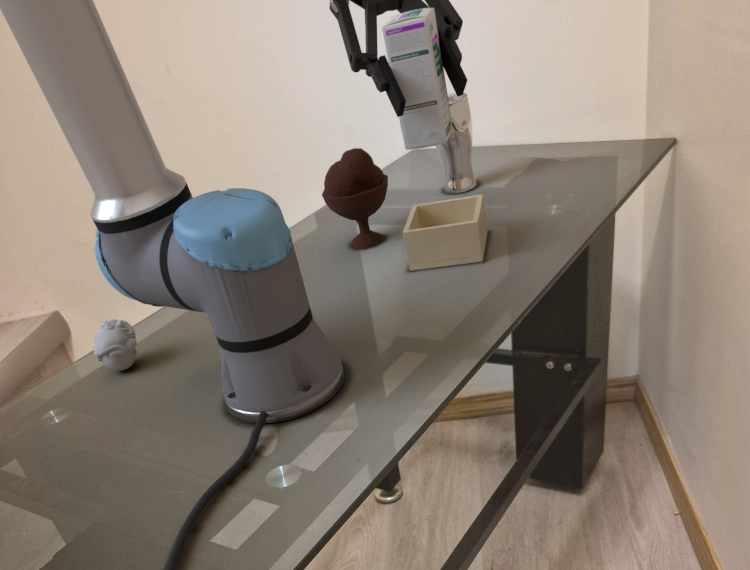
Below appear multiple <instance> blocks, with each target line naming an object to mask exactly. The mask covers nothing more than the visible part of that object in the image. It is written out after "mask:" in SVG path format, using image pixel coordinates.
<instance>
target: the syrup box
mask: <svg viewBox="0 0 750 570" xmlns="http://www.w3.org/2000/svg"><path fill="white" fill-rule="evenodd" d="M381 30H382V36H383V41H384V45H385V51H386V58H387V61H388V63H389V66H390V68H391V70H392V72H393V74H394V76H395V78H396V80H397V83H398V85H399V87H400V89H401V91H402V93H403V95H404V97H405V100H406V103H405V108H404V113H403V115H402V116H399V117H398V120H399V124H400V130H401V135H402V140H403V145H404V149H405V150H406V151H409V150H418V149H419V150H420V149H424V148H425V149H426V148H430V147H436V145H441V144H446V143H447V140H448V138H449V136H450V134H451V132H452V129H453V128H452V121H451V115H450V108H449V102H448V95H447V94H448V89H447V83H446V75H445V69H444V67H443V62H442V56H441V49H440V43H439V36H438V30H437V23H436V17H435V11H434V8H433V7H428V8H421V9H415V10H411V11H407V12H404V13H398V14H395V15H391V16H390V18H389V20H388V21H387V22H386V23H385V24H384V25H382V27H381Z"/></svg>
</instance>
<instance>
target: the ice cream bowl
mask: <svg viewBox="0 0 750 570" xmlns="http://www.w3.org/2000/svg"><path fill="white" fill-rule="evenodd" d="M324 177H325V178H324V182H323V185H324V186H323V187H324V189H323V191H322V193H321V196H322V199H323V201H324V203H325V204H326V206H327V207H328V208H329V210H330V211H331V212H333V213H334V214H336V215H338V216H340V217H342V218H344V219H347V220H350V221H356V223H357V224H358V225H357V226H358V231H359V233H358V234H356V236H355V237H354V238H353V239H352V241H351V248H354V249H356V250H359V249H361V250H362V249H363V250H364V249H368V248H371V247H375V246H377V245H379V244H380V243H382V242H383V239H384V236H383V234H381V233H379V232H377V231H373V230H371V227H370V223H369V218H370V217H371V216H372V215H374V214H376V213H377V211H379V210H380V208H381V207H382V205H383V204H384V202H385V200H386V196H387V192H388V187H389V175H387V174H384V171H382V169H381V167H379V166H378V165H376V164H375V163H374V160H373V158H372V156H371V155H370V153H368V152H367V151H366V150H364V149H363V148H361V147H360V148H358V147H357V148H356V147H353V148H351V149H347V150H345V151H344V152H343V153H342V155H341V157H340V160H337V161H335V162H334V163H333V164H332V165H330V167H329V168H328V170H327V172H326V174H325V176H324Z"/></svg>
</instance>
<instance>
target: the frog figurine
mask: <svg viewBox="0 0 750 570" xmlns="http://www.w3.org/2000/svg"><path fill="white" fill-rule="evenodd" d="M93 342H94V343H93V355H94V356H95V357H96V359H97V361H98V362H99V363H102V364H103V365H104V366H105V367H107V368H108V369H109V370H112V371H116V372H122V371H125V370H127V369H129V368H130V367H132V366H133V364H135V361H136V358H137V353H138V351H137V348H136V346H137V344H138V343H137V336H136V331H135V329H134V327H133V326H132V325H131V323H129V322H128V321H126V320H124V319H123V320H121V319H119V320H118V319H116V318H115V319H108V320H103V321H102V322H100V326H99V329H98V331H97V333H96V334H95V337H94V341H93Z"/></svg>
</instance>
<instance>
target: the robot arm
mask: <svg viewBox="0 0 750 570" xmlns="http://www.w3.org/2000/svg"><path fill="white" fill-rule="evenodd" d="M350 2H352V3H353V4H354V5H356V6H358V7H360V8H361V9H363V10H364V26H365V29H364V31H365V33H364V34H365V52H362V48H361V44H360V42H359V38H358V33H357V31H356V27H355V23H354V21H353V17H352V13H351V9H350ZM428 7H433V8H434V11H435V17H436V23H437V30H438V36H439V43H440V49H441V56H442V62H443V69H444V72H445V74H446V75H447V78H448V80H449V82H450V84H451V86H452V89H453V90H454V93H456V95H457V97H458V96H461V95H463V93H465V89H466V86H467V83H468V78H467V76H466V74H465V72H464V70H463V67H462V66H461V63H462V60H463V54H462V51H461V49H460V48H459V45H458V44H457V41H458V40H459V38H460V35H461V31H462V27H463V23H464V22H463V19H462V17H461V16H460V14H459V13H458V11H457V10H456V8H455V7H454V5H453V3H451V1H450V0H424V1H423V0H329V11H330V12H331V13H332V15H333V16H334V17H335V19H336V20H337V24H338V27H339V30H340V34H341V37H342V41H343V45H344V48H345V49H344V50H345V52H346V56H347V59H348V62H349V65H350V69H351V71H352V72H353V73H358V72H359V73H360V71H365V75H366V76H367V77H369V78H371V79H372V81H373V83H374V85H375V87H376V90H377V91H378V92H379V93H384V92H385V93H386V95H387V98H388V100H389V102H390V104H391V106H392V108H393V111H394V113H395V115H396V117H397V118H399V116H402V115H403V113H404V108H405V103H406V100H405V97H404V95H403V93H402V91H401V89H400V87H399V85H398V83H397V80H396V78H395V76H394V74H393V72H392V70H391V68H390V66H389V62H388V58H387V56H386V55H385V54H384V55H380V56H379V57H378V54H379V53H378V16H380V15H383V14H385V13H387V12H393V11H397V12H398V13H399V14H401V13H404V12H407V11H411V10H415V9H421V8H428ZM0 11H1V13H2V15H3V17H4V19H5V21H6V23H7V26H8V28H9V29H10V31H11V33H12V35H13V37H14V39H15V41H16V42H17V45H18V46H19V49H20V51H21V53H22V55H23V56H24V58H25V60H26V63H27V65H28V66H29V68H30V70H31V72H32V74H33V76H34V78H35V80H36V82H37V84H38V86H39V88H40V90H41V92H42V94H43V96H44V98H45V99H46V102H47V104H48V105H49V107H50V109H51V112H52V113H53V115H54V117H55V119H56V121H57V123H58V125H59V127H60V129H61V131H62V133H63V135H64V137H65V139H66V141H67V143H68V145H69V146H70V149H71V151H72V152H73V155H74V156H75V159H76V160H77V163H78V164H79V166H80V169H81V170H82V172H83V174H84V177H85V178H86V180H87V183H88V184H89V186H90V188H91V190H92V192H93V193H94V200H93V203H92V206H91V209H90V217H91V219H92V221H93V223H94V225H95V227H96V230H95V234H94V236H95V237H96V242H95V244H94V254H95V259H96V261H97V265H98V267H99V269H100V271H101V273H102V275H103V277H104V278H105V280H106V281H107V282H108V284H110V286H111V287H113V289H115V290H116V291H117V292H118V293H120V294H121V295H123V296H124V297H125V298H129V299H130V300H134V301H137V302H139V303H141V304H144V305H149V306H152V307H159V308H160V307H161V308H162V307H164V308H165V307H166V308H167V307H168V308H172V309H179V310H186V311H192V312H199V313H203V314H206V315H207V319H208V321H209V323H210V325H211V328H212V331H213V333H214V335H215V338H216V340H217V343H218V346H219V349H220V363H221V364H220V365H221V389H222V396H223V399H224V402H225V404H226V407H227V410H228V411H229V413H230V414H231V416H233V417H235V418H236V419H238V420H240V421H243V422H246V423H252V424H254V426H253V429H252V431H251V434H250V436H249V439H248V443H247V445H246V448H245V450H244V451H243V452H242V453H241V455H240V456H239V458H238V459H237V460H236V461H235V462H234V463H233V464H232V465H231V466H230V467H229V468H228V469H227V470H226V471H225V472H224V473H223V474H222V475H221V476H219V478H217V479H216V480H215V481H214V482H213V483H212V484H211V485H210V486H209V487H208V488H207V490H206V491H204V493H202V495H201V497H200V498H199V499H198V501H197V502H196V503H195V505H194V506H193V507H192V509H191V511H190V512H189V514H188V515H187V517H186V518H185V520H184V522H183V524H182V526H181V528H180V530H179V532H178V534H177V536H176V537H175V540H174V542H173V544H172V547H171V550H170V552H169V554H168V557H167V560H166V562H165V566H164V568H163V570H176V567H177V564H178V561H179V559H180V555H181V553H182V550H183V548H184V546H185V544H186V541H187V539H188V537H189V535H190V532H191V530H192V529H193V527H194V525H195V523H196V521H197V520H198V518H199V517H200V515H202V514H201V513H203V511H204V510H205V508H206V506H207V505H208V504H209V502H210V501H211V500H212V499H213V498H214V496H216V495H217V493H218V492H219V491H221V489H222V488H223V487H225V486H226V485H227V484H228V483H229V482H230V481H231V480H232V479H233V478H234V477H235V476H236V475H237V474H238V473H239V472H240V471H241V470H242V469H243V468H244V466H246V464H247V463H248V462H249V460H250V459H251V457H252V455H253V454H254V452H255V451H256V447H257V445H258V442H259V439H260V435H261V433H262V431H263V428H264V425H265V424H273V423H279V422H284V421H289V420H292V419H295V418H298V417H301V416H303V415H306V414H308V413H310V412H312V411H314V410H316V409H318V408H319V407H321V406H323V405H324V404H326V403H327V402H328V401H330V400H331V399H332V398H333V397H335V395H336V394H337V393H338V392H339V390H340V389H341V387H342V386H343V384H344V381H345V370H344V367H343V363H342V360H341V358H340V356H339V354H338V352H337V351H336V349H335V348H334V346H333V345H332V343H331V342H330V341H329V339H328V337H327V336H326V335H325V333H324V332H323V331H322V329H321V327H320V326H319V324H318V323H317V321H315V318H314V316H313V312H312V308H311V305H310V300H309V298H308V294H307V290H306V286H305V283H304V279H303V276H302V275H303V274H302V272H301V268H300V264H299V261H298V257H297V253H296V250H295V246H294V242H293V237H292V233H291V230H290V227H289V226H288V224H287V223H286V221H285V220H286V219H285V218H284V215H283V212H282V209H281V207H280V205H279V203H278V202H277V201H276V200H275V199H274V198H273V197H272V196H271V195H269V194H267V193H265V192H263V191H261V190H257V189H252V188H244V187H233V188H227V189H226V190H219V189H218V190H211V191H208V192H204V193H202V194H199V195H197V196H194V197H193V195H192V192H191V191H190V188H189V186H188V183H187V180H186V178H185V177H184V176H183V175H182V174H179V173H177V172H175V171H173V170H171V169H169V168H167V166H166V165H165V162H164V161H163V158H162V156H161V154H160V153H161V152H160V151H159V149H158V146H157V144H156V142H155V140H154V137H153V135H152V133H151V131H150V128H149V125H148V124H147V120H146V119H145V117H144V114H143V112H142V110H141V108H140V107H141V106H140V105H139V103H138V101H137V98H136V96H135V93H134V92H133V91H134V90H133V88H132V87H131V85H130V82H129V80H128V77H127V75H126V73H125V71H124V68H123V66H122V63H121V62H120V59H119V57H118V54H117V52H116V50H115V47H114V45H113V43H112V41H111V38H110V36H109V34H108V31H107V30H106V27H105V25H104V22H103V20H102V17H101V16H100V14H99V11H98V9H97V6H96V3H95V1H94V0H0Z"/></svg>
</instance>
